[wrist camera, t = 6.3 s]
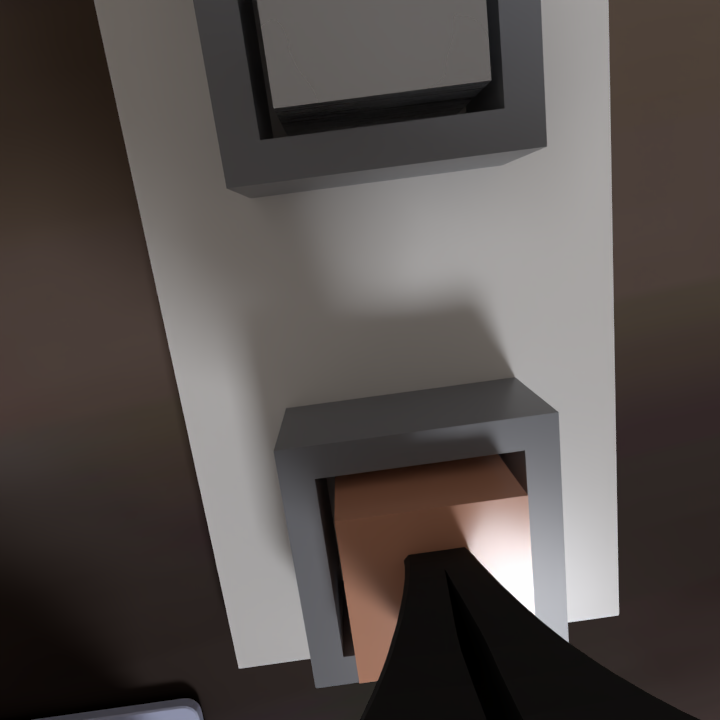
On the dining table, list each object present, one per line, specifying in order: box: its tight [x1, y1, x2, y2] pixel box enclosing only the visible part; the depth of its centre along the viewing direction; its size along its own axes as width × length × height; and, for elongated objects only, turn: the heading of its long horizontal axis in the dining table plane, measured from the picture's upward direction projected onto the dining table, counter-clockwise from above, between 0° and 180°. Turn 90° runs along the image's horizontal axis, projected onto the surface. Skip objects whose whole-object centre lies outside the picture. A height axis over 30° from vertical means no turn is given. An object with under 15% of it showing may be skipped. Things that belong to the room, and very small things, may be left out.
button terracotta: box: [334, 454, 535, 683], centre depth 13 cm, size 4×4×4 cm
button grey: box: [257, 0, 491, 137], centre depth 11 cm, size 4×4×4 cm
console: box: [94, 0, 619, 688], centre depth 13 cm, size 22×12×4 cm, turn 7°
